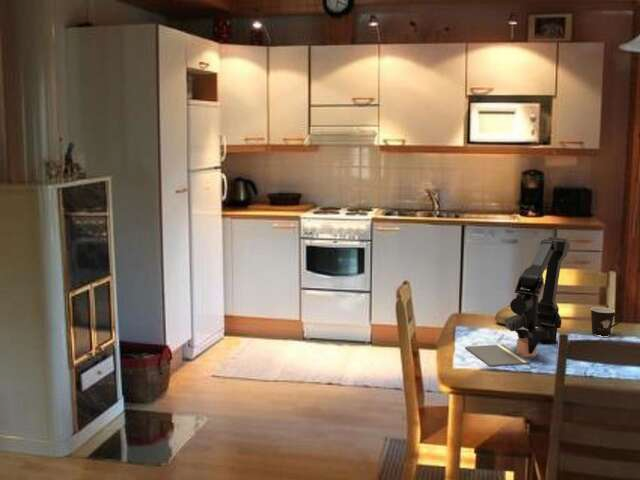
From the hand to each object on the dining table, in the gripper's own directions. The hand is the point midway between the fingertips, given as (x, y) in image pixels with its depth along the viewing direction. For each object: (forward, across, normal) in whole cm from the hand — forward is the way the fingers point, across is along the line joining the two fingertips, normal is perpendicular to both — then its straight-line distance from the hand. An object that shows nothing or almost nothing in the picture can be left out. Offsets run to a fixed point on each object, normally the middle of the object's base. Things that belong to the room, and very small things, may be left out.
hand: (526, 351), depth 258 cm
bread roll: (+1, -34, +13) cm, 36 cm away
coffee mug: (+1, -15, +42) cm, 45 cm away
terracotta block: (+1, 0, 0) cm, 1 cm away
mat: (+1, 0, -12) cm, 12 cm away
